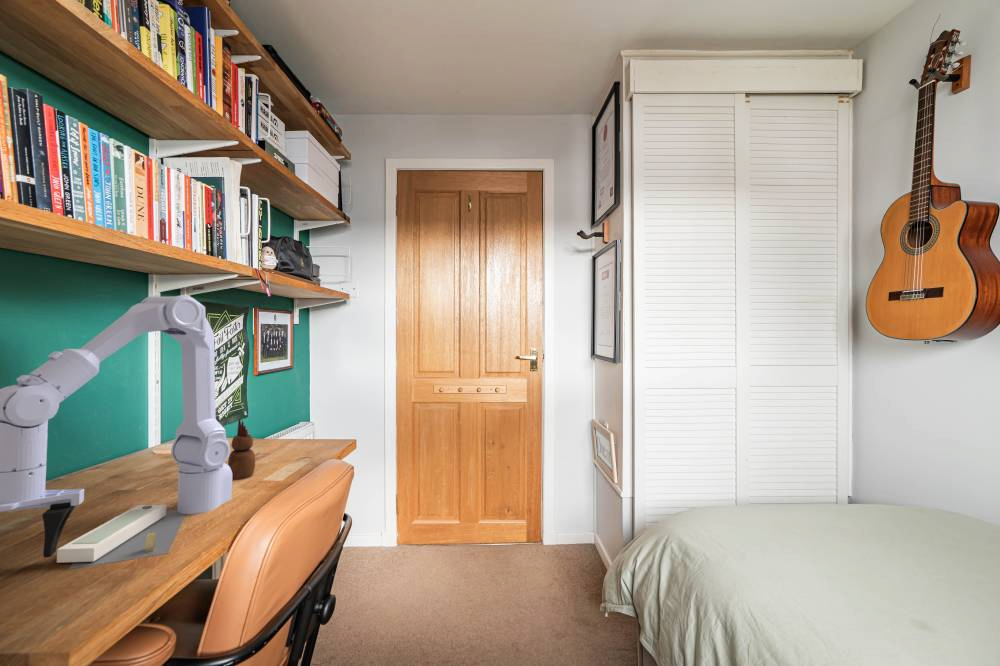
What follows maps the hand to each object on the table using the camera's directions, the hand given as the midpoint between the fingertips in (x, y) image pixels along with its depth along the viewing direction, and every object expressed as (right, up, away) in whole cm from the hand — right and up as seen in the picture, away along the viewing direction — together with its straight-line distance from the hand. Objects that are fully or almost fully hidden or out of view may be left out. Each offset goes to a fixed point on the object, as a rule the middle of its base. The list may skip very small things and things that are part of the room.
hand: (14, 559), depth 66 cm
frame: (+6, -1, +10) cm, 12 cm away
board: (+8, -3, +12) cm, 15 cm away
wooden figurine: (+7, -3, +46) cm, 46 cm away
